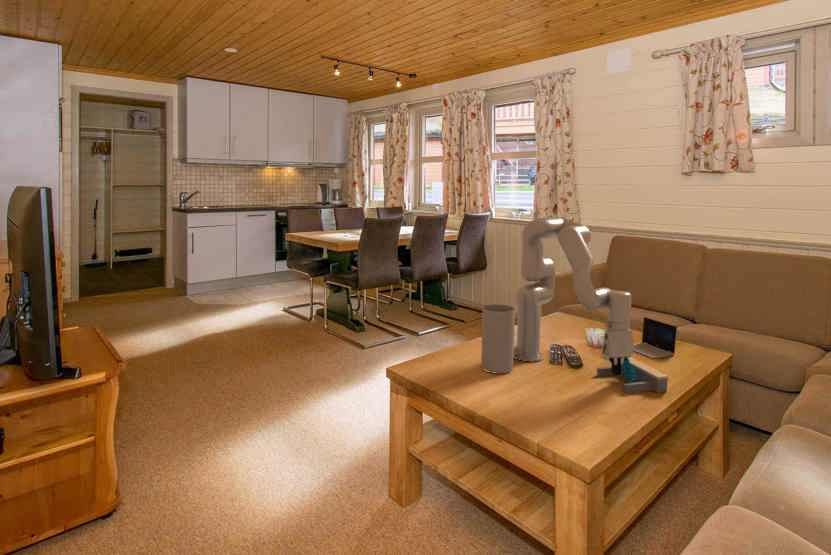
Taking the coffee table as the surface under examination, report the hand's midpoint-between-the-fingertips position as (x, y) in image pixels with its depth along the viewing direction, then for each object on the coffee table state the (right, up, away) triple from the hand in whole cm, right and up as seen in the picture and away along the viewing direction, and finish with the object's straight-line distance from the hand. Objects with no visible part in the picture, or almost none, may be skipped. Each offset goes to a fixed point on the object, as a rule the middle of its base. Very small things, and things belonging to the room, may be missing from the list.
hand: (616, 373), depth 187 cm
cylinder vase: (-41, -1, +16) cm, 44 cm away
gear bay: (+6, -4, +3) cm, 7 cm away
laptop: (+29, +2, +38) cm, 48 cm away
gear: (+3, -2, +2) cm, 4 cm away
